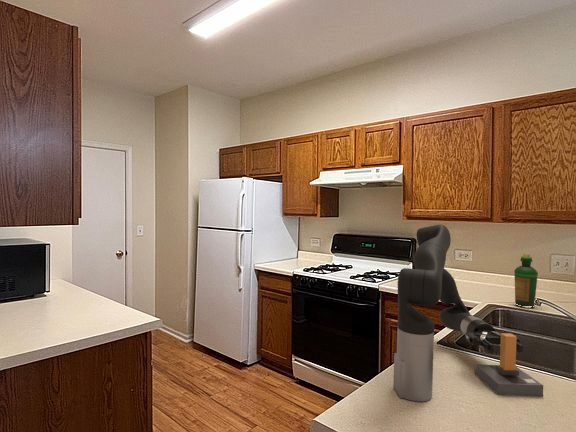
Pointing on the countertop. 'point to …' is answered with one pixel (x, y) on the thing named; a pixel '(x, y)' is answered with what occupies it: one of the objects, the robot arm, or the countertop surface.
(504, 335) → the handle
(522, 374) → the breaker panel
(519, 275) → the bottle
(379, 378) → the countertop surface
